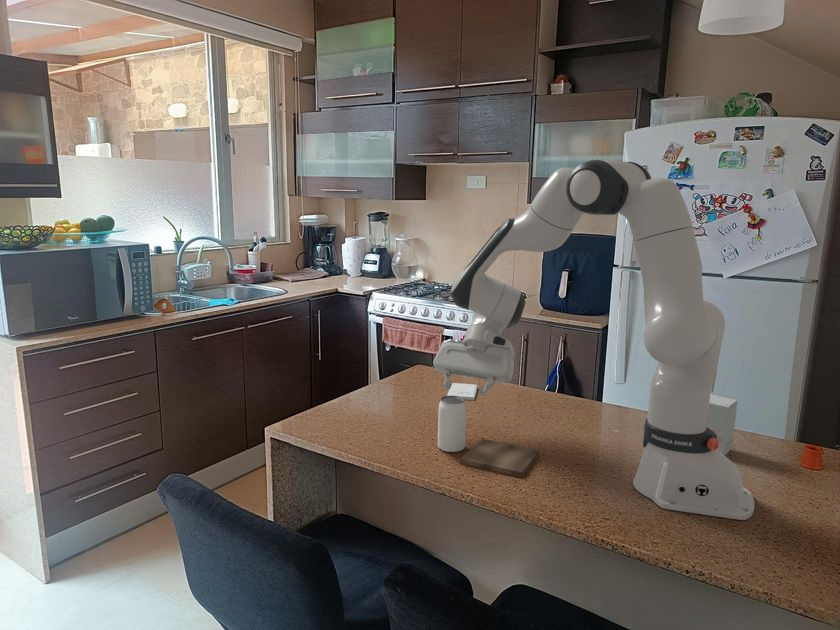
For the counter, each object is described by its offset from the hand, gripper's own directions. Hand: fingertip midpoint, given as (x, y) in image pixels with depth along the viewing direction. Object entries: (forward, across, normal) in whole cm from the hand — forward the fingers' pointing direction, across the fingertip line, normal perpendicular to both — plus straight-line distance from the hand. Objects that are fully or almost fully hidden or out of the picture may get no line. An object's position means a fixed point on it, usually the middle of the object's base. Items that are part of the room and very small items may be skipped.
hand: (464, 390), depth 147 cm
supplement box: (-8, +55, +25) cm, 61 cm away
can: (+14, 0, +4) cm, 14 cm away
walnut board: (+14, +13, +3) cm, 19 cm away
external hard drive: (-14, -14, +32) cm, 38 cm away
